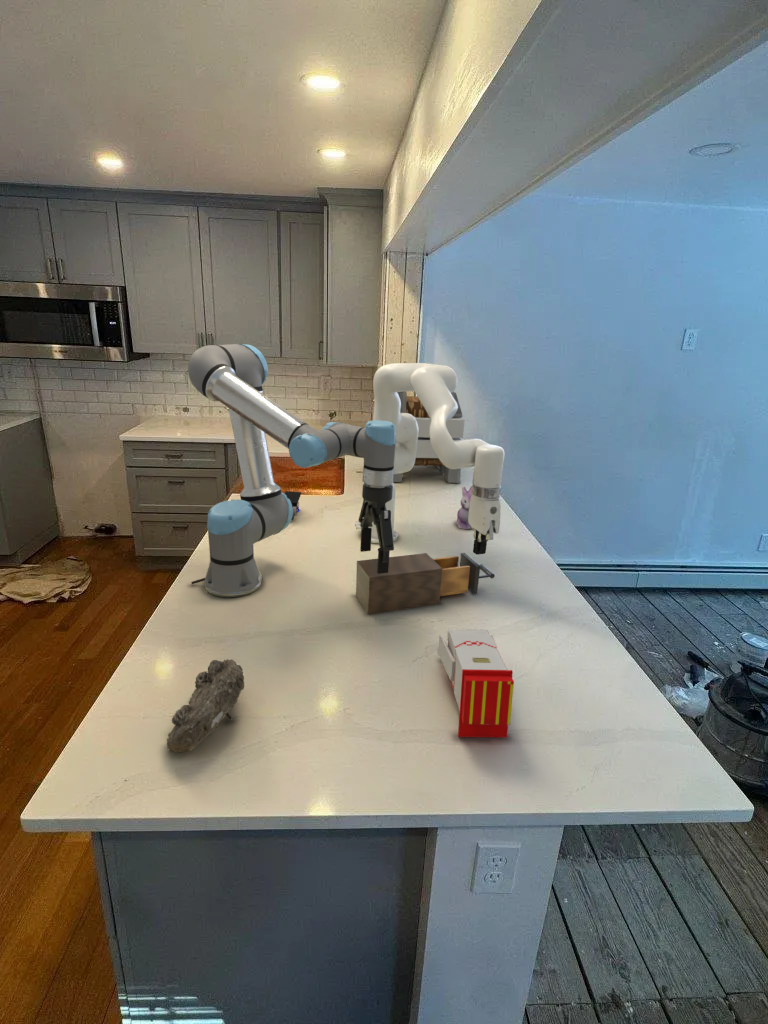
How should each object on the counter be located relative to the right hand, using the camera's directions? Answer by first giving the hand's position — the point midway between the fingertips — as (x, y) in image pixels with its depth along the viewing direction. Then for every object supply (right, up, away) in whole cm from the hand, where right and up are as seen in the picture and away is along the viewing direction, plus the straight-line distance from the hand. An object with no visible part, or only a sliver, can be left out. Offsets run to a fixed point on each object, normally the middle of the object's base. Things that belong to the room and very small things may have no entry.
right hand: (479, 553), depth 159 cm
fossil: (-59, -28, -51) cm, 83 cm away
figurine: (+4, +6, +51) cm, 52 cm away
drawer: (-9, -10, 0) cm, 13 cm away
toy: (-9, -26, -41) cm, 49 cm away
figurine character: (-62, +10, +53) cm, 82 cm away
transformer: (-9, +30, +116) cm, 120 cm away
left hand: (-29, -1, -11) cm, 32 cm away
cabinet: (-23, -12, -4) cm, 27 cm away
